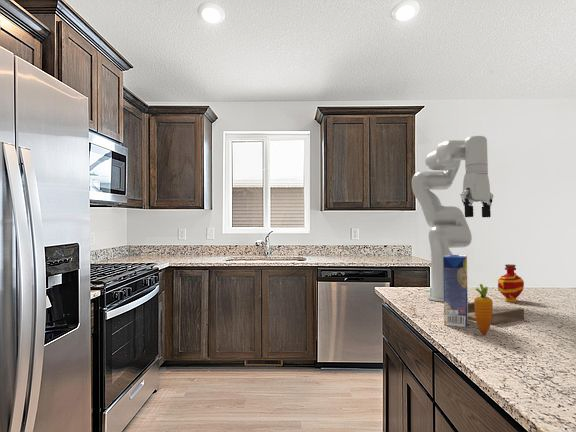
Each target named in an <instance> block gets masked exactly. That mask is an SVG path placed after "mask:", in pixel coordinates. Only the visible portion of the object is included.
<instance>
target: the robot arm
mask: <svg viewBox="0 0 576 432" xmlns="http://www.w3.org/2000/svg"><path fill="white" fill-rule="evenodd" d="M488 160H489V159H488V139H487V138H486V136H484V135H473V136H469V137H467V138H466V139H465V140H464V139H463V140H462V139H460V140H459V139H456V140H454V139H453V140H452V139H450V140H446V141H443V142H441V143H439V144H438V145H437V147H436V150H434V151H432V152H430V153H428V154H427V156H426V158H425V161H424V162H425V165H426V167H427V168H428V169H429V170H430V171H429V170H424V171H419V172H416V173H415V174H414V175H413V176H412V178H411V188H412V189H411V190H412V192H413V195H414V197H415V198H416V200H417V201H418V203H419V205H420V206H421V210H422V213H423V215H424V219H425V221H426V223H427V225H428V227H430V229H429V231H428V241H429V247H430V258H431V259H430V261H431V263H430V264H431V265H430V266H431V267H430V268H431V287H428V288H427V289H426V290H425V292H427V293H429V295H428V296H427V299H428V300H430V301H435V302H442V303H444V263H443V257H444V256H445V255H454V254H453V253H452V251H451V249H453V248H454V249H455V248H460V249H461V248H466V247H469V246H470V245H471V243H472V240H473V237H472V232H471V229H470V227H469V224H468V222H467V220H466V218H474V205H473V204H474V202H476V203H477V202H480V203H481V205H482V206H481V217H482V218H491V215H492V214H491V207H492V203H493V199H494V194H493V193H492V192H491V185H490V179H489V165H488V164H489V163H488ZM461 161H464V162H465V163H464V164H465V167H464V168H465V173H464V177H463V182H462V192H461V193H460V194H459V195H460V198H461V202H462V204H463V207H464V213H463V211H462V210H461V208H459V207H457V206H449V205H448V206H446V205H442V204H441V200H440V199H439V197H438V196H437V195H436V194H435V193H434V192H433V190H436V191H437V190H441V191H442V190H448V189H449V188H450V187H451V186H452V185H453V183H454V180H455V178H456V176H457V174H458V171H459V169H460V166H461Z"/></svg>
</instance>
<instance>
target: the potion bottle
mask: <svg viewBox="0 0 576 432" xmlns="http://www.w3.org/2000/svg"><path fill="white" fill-rule="evenodd" d="M504 266H505V268H504V270H505V271H506V273H505V274H503V275H501V276H500V277H499V278H498V279H497V291H498V292H500V294H501V295H503V296H504V297H505V298H504V300H503V301H504V302H511V303H517V302H518V299H517V298H518V297H519V296H520V295H521V293H522V292H523V290H524V288H525V282H524V280H523V278H522V277H521V276H519V275H518V274H517V273H516V272H515V271H516V270H517V268H516V266H517V265H516V264H509V263H508V264H504Z"/></svg>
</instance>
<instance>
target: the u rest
mask: <svg viewBox="0 0 576 432" xmlns="http://www.w3.org/2000/svg"><path fill="white" fill-rule="evenodd" d="M523 320H525V308H520V307H519V308H512V309H508V310H501V311H500V310H499V311H498V310H494V309H493V311H492V320H491V325H492V326H495V325H500V324H501V325H502V324H506V323H511V322H512V323H513V322H517V321H523ZM468 321H474V322H477V321H476V317H475V307H474V302H473V301H472V302H468ZM491 325H490V326H491Z"/></svg>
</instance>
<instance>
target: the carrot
mask: <svg viewBox="0 0 576 432" xmlns="http://www.w3.org/2000/svg"><path fill="white" fill-rule="evenodd" d="M479 287H480V288H478V287H477V288H475V291H477V292H478V293H479V294H480V295H479V296H477V297H476V296H475V298H474V307H475V317H476V321H475V322H476V325H477V328H478V330H479V332H480V334H481V336H483V337H485V336H486V335H487V334H488V332H489V330H490V328H491V320H492V311H493V310H494V309H493V308H494V307H493V305H494V302H493V299H491V298H490V297H488V296H487V294H488V287H487V286H484V285H483V283H480V284H479ZM480 289H481V290H480Z"/></svg>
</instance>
